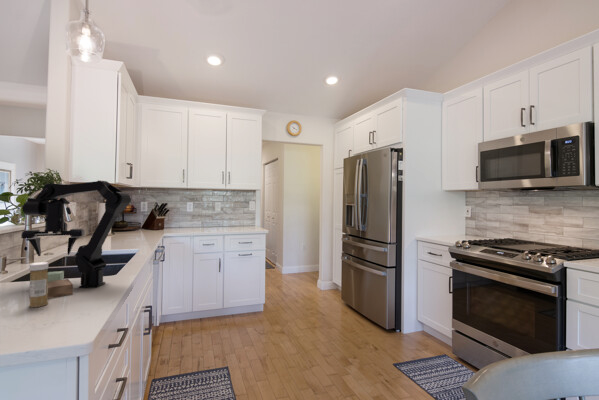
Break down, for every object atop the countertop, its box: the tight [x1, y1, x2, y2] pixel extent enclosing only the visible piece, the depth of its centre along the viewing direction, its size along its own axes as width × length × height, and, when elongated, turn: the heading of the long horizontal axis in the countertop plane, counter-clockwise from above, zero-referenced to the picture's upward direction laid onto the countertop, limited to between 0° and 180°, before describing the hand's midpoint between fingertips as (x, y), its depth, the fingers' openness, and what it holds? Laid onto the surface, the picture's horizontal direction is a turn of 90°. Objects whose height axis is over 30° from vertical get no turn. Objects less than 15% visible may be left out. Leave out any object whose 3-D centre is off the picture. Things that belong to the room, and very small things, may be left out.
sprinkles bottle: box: [29, 261, 49, 308], centre depth 98 cm, size 5×5×14 cm
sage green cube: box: [48, 270, 65, 282], centre depth 121 cm, size 5×5×5 cm
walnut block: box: [47, 278, 74, 300], centre depth 110 cm, size 10×10×4 cm
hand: (54, 255), depth 121 cm, fingers open, 9 cm apart
